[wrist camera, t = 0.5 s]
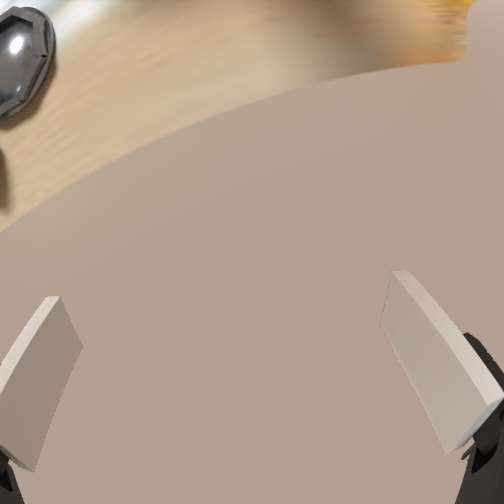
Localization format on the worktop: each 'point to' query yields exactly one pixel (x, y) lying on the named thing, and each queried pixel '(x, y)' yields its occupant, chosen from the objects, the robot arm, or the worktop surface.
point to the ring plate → (23, 57)
